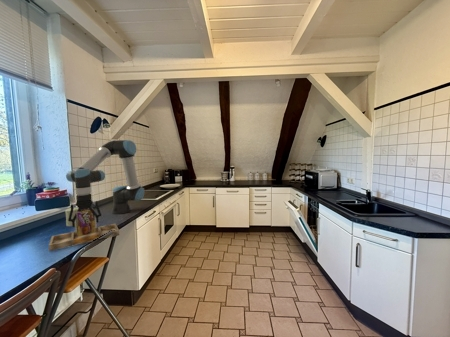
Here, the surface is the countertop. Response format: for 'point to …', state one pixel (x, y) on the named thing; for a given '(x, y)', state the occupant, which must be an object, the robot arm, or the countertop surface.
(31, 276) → the countertop surface
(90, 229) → the candy box
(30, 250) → the countertop surface
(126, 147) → the robot arm
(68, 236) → the rack
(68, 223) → the can
